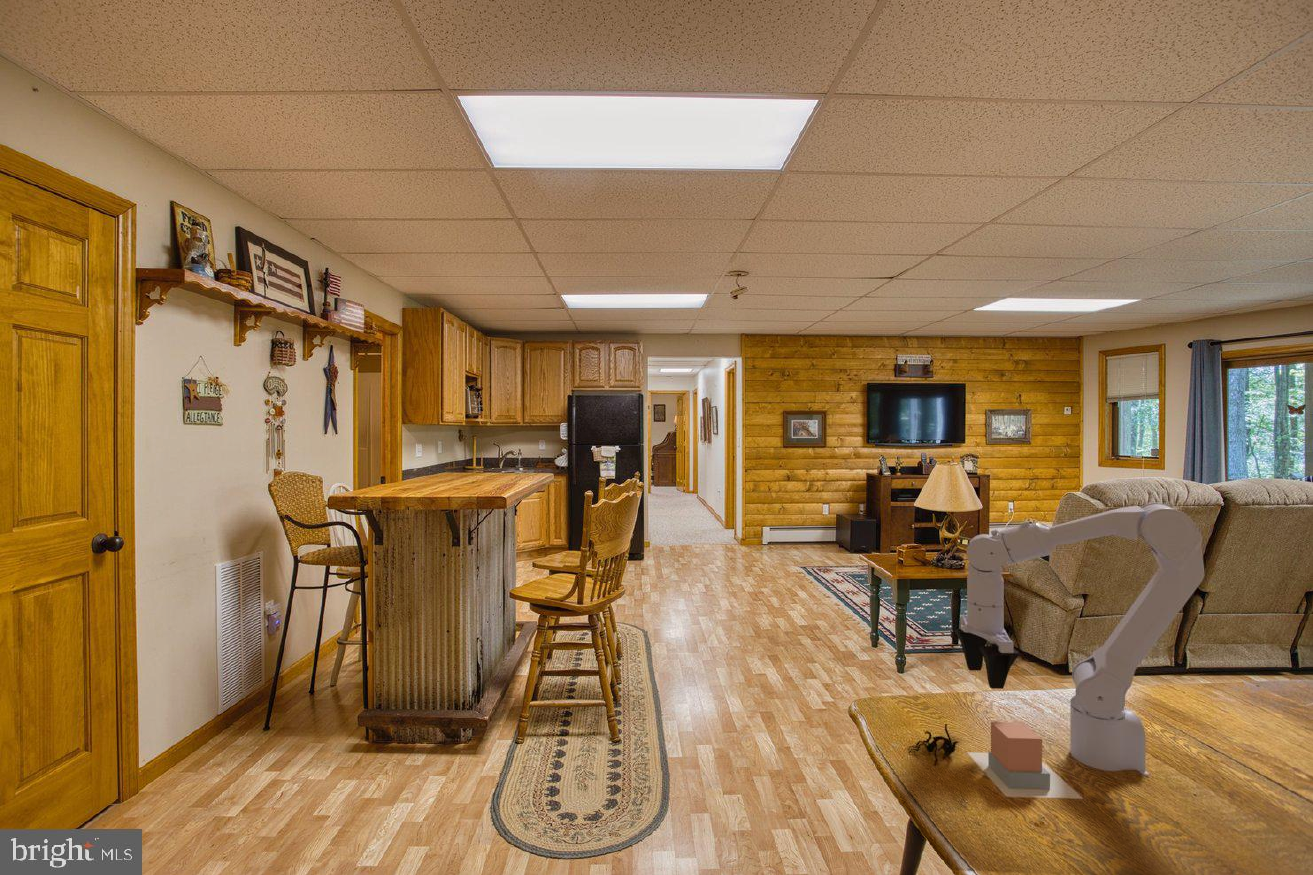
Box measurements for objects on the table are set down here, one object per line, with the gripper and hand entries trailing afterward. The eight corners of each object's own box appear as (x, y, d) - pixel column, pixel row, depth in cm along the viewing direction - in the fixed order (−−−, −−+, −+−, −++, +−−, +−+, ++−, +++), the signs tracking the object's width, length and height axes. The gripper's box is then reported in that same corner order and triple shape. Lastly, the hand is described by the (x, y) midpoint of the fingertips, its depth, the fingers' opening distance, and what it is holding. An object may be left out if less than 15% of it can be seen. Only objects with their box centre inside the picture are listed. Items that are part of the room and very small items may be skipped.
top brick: (1022, 753, 94) (1022, 722, 94) (1042, 771, 89) (1042, 738, 89) (990, 752, 94) (990, 721, 94) (1008, 770, 89) (1008, 738, 89)
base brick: (1026, 766, 94) (1026, 751, 94) (1050, 789, 88) (1050, 773, 88) (988, 766, 94) (988, 751, 94) (1009, 788, 88) (1009, 772, 88)
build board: (1034, 758, 98) (1034, 753, 98) (1083, 803, 86) (1083, 798, 86) (966, 757, 98) (966, 752, 98) (1006, 801, 87) (1006, 796, 87)
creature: (915, 776, 95) (967, 770, 94) (907, 744, 95) (959, 737, 94) (903, 750, 103) (951, 744, 101) (896, 720, 103) (943, 713, 102)
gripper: (944, 591, 112) (944, 662, 113) (983, 615, 98) (982, 696, 98) (981, 591, 112) (981, 662, 112) (1026, 615, 98) (1026, 696, 98)
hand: (985, 678), depth 105 cm, fingers open, 7 cm apart
